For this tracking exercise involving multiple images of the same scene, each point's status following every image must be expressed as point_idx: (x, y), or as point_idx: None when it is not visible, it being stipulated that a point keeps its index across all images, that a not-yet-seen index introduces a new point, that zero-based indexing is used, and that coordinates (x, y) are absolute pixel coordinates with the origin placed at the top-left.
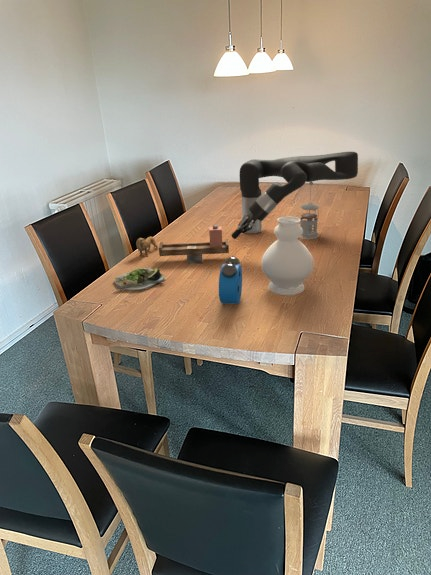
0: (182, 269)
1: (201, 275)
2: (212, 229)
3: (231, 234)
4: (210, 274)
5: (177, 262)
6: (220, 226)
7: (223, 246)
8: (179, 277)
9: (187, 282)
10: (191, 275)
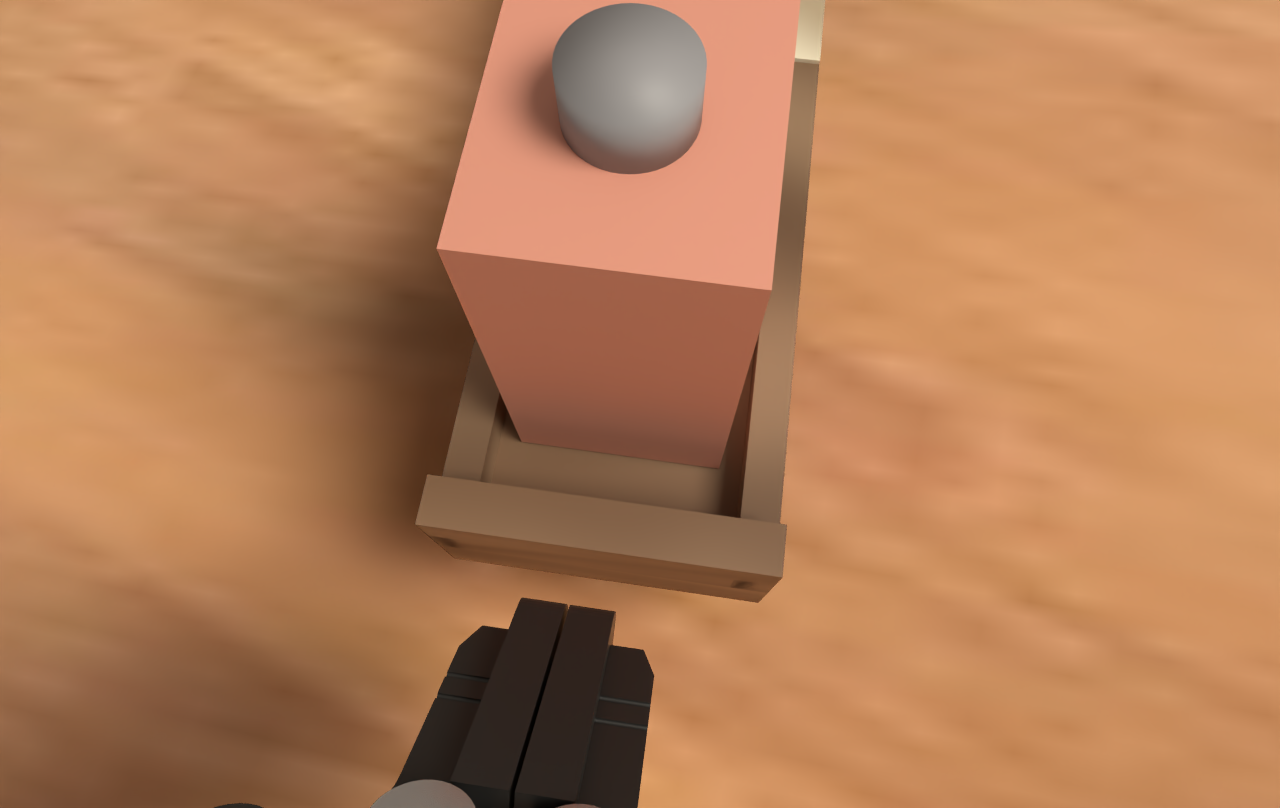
0: (455, 41)
1: (210, 195)
2: (540, 37)
3: (607, 613)
4: (191, 288)
5: None
6: (751, 262)
7: (633, 482)
8: (260, 2)
9: (104, 55)
10: (258, 104)
